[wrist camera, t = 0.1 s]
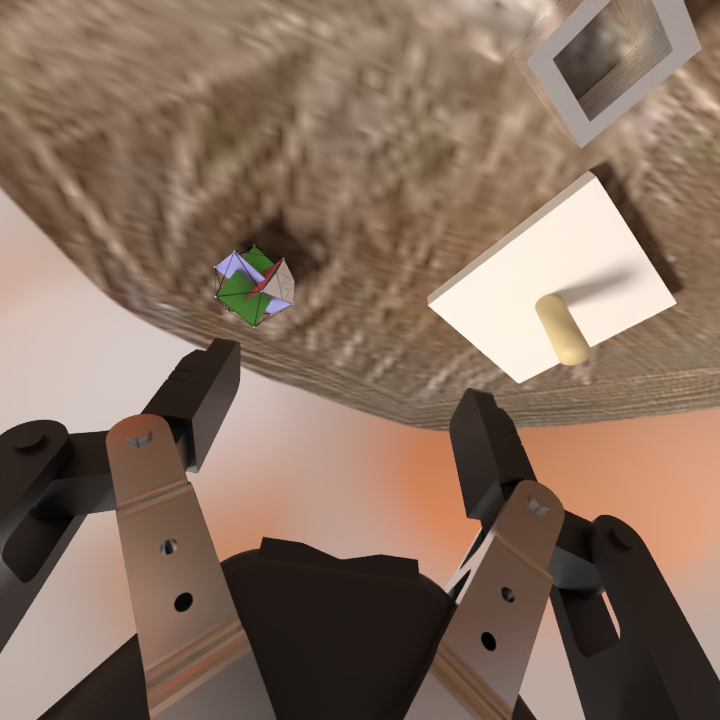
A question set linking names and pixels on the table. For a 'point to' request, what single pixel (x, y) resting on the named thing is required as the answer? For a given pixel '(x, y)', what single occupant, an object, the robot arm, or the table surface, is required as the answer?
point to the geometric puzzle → (255, 285)
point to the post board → (554, 285)
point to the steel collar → (622, 83)
